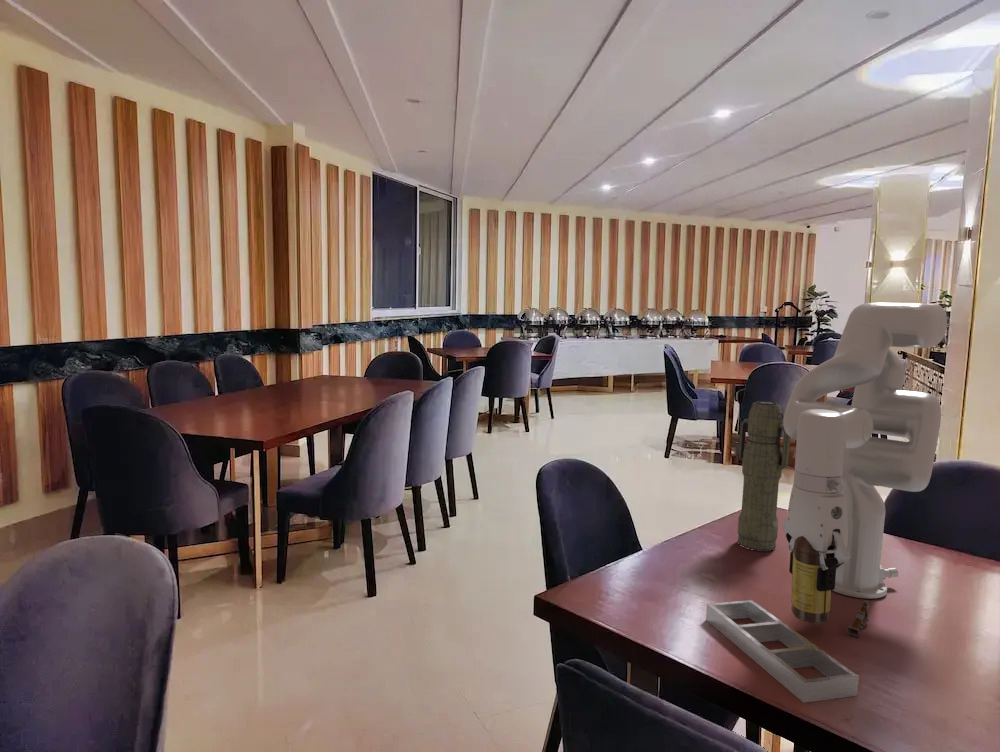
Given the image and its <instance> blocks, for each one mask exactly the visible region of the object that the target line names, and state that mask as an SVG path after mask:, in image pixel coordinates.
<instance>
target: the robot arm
mask: <svg viewBox="0 0 1000 752" xmlns="http://www.w3.org/2000/svg"><path fill="white" fill-rule="evenodd" d="M947 316H948V315H947V313H946V311H945V309H944V307H943V306H941V305H940V304H936V303H917V302H867V303H863V304H860V305H858V306H856V307H855V308H853V310H852V311H851V312H850V314H849V316H848V318H847V321H846V323H845V326H844V329H843V331H842V334H841V336H840V338H839V342H838V344H837V347H836V349H835V351H834V355H833V356H832V357H831V358H829V359H828V360H826V361H824V362H822V363H820V364H819V365H817V366H815V367H814V368H812V369H811V370H810V371H808V372H806V373H805V374H804V375H803V376H802V377H800V379H799V380H798V381H797V382H796V384H795V386H794V388H793V390H792V393H791V395H790V397H789V400H788V402H787V404H786V408H785V410H784V414H783V424H784V429H785V432H786V433H787V434H788V436H790V437H791V439H793V440H796V441H795V442H796V444H795V459H794V461H795V462H794V476H793V477H794V478H793V485H792V488H791V492H790V496H789V502H788V509H787V518H786V520H784V521H783V522H782V524H781V526H782V528H783V530H784V534H785V538H786V539H787V542H788V546H787V547H788V550H789V551H790V556H789V557H790V558H789V568H788V569H789V572H788V573H790V574H791V575H792V567H793V548H794V542H795V540H796V539H797V538H798V537H800V536H804V537H805V538H806V539H807V541H808V542H809V543H810V545H811V546H812V548H813V549H815V550H816V551H818V555H819V560H820V565H821V568H818V573H817V590H818V591H828V590H831V592H835V593H837V594H840V595H844V596H847V597H851V598H852V597H853V598H859V599H871V600H873V599H874V600H875V599H880V598H884V597H885V596H886V595H887V594H888V587H887V585H886V584H885V583H884V580H886V579H889V578H890V579H891V578H898V576H899V570H898V569H897V568H896V567H888V568H884V567H883V566H882V565H881V562H882V549H883V542H884V541H883V540H884V529H885V528H884V527H885V518H886V506H885V501H884V500H883V498H882V496H881V495H880V493H879V492H878V490H877V488H876V487H884V488H888V489H894V490H900V491H905V492H912V493H916V492H917V493H918V492H921V491H924V490H925V489H926V488H927V487H928V486H929V484H930V480H931V477H932V474H933V473H932V472H933V468H934V464H935V456H936V452H937V445H938V439H939V434H940V428H941V421H942V407H941V404H940V402H939V399H938V398H937V397H936V396H935V395H933V394H931V393H928V392H924V391H916V390H907V389H904V388H903V387H904V383H905V378H906V377H905V376H906V368H905V366H904V364H903V363H902V361H901V360H900V358H899V357H898V356H897V354H896V353H895V352H894V351H893V350H891V347H892V348H894V347H895V348H910V349H911V348H912V349H913V348H915V349H916V348H917V349H928V348H932V347H936V346H937V345H938V344H940V343H941V342H942V341H943V339H944V337H945V335H946V333H947V328H948V317H947ZM850 388H854V391H853V397H852V401H851V405H849V404H840V403H835V402H834V403H832V402H824V401H817V400H818V399H820V398H822V397H823V396H825V395H828V394H831V393H834V392H840V391H842V390H846V389H847V390H848V389H850ZM873 434H877V435H882V436H883V435H885V436H890V437H898V438H906V439H907V440H908V441H903V440H896V439H888V438H883V437H877V436H876V437H875V436H872V435H873ZM828 546H829V550H827V549H828ZM826 554H830V558H831V559H829V560H828V561H827V558H826Z"/></svg>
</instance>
